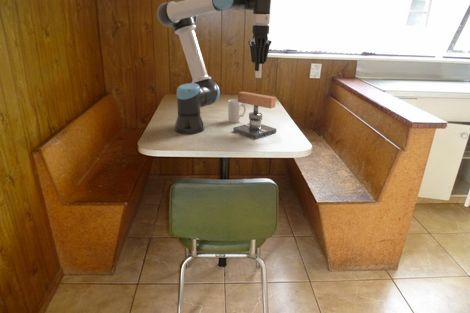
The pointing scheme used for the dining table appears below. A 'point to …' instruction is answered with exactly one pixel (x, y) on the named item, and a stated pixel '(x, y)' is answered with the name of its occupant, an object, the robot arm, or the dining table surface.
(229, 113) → the mug
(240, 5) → the robot arm
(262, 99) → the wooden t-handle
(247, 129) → the base
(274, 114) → the dining table surface
